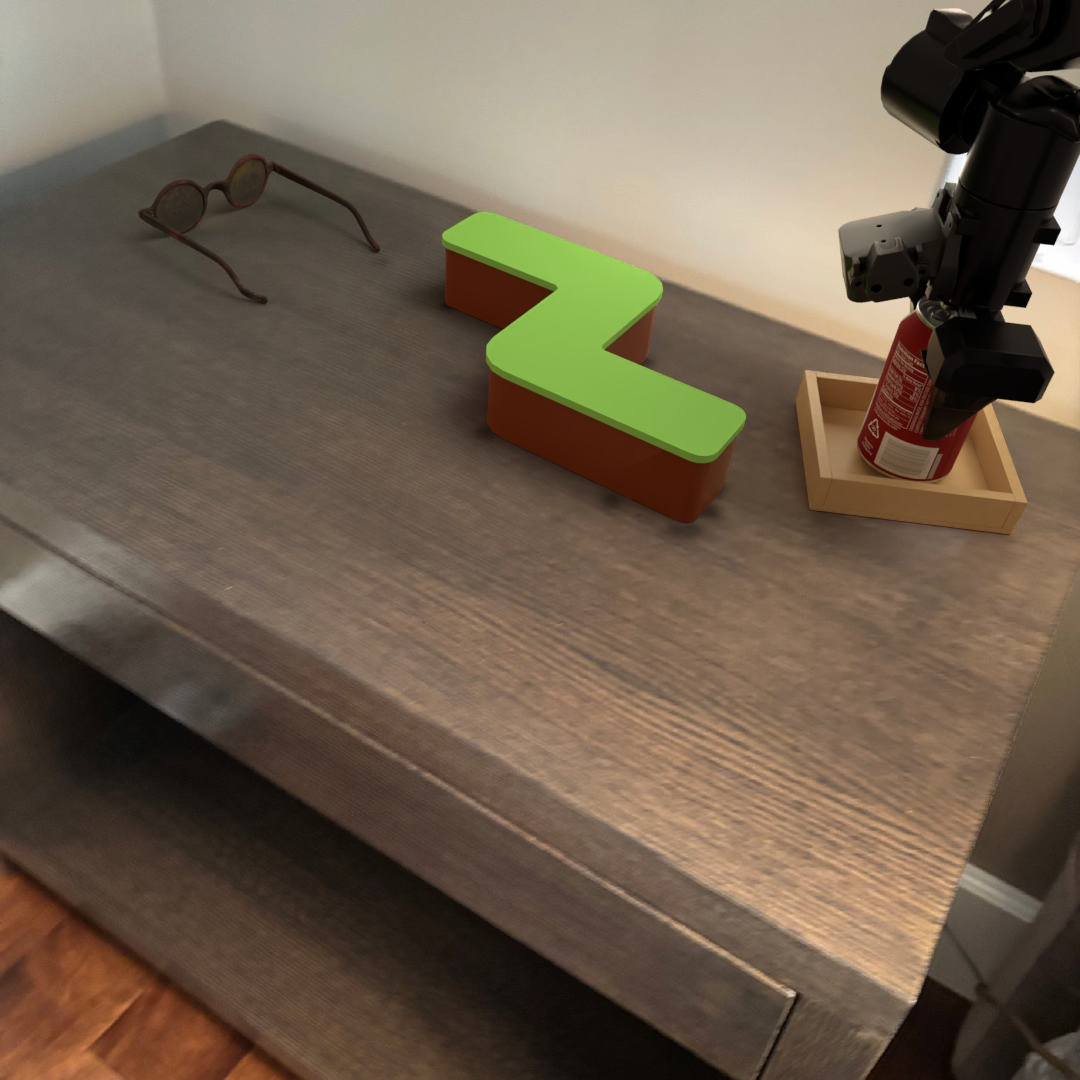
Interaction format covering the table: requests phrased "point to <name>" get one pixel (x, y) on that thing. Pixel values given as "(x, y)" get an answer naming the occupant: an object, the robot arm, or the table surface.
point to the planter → (586, 366)
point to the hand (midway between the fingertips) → (920, 406)
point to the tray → (857, 489)
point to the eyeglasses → (242, 187)
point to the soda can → (909, 407)
